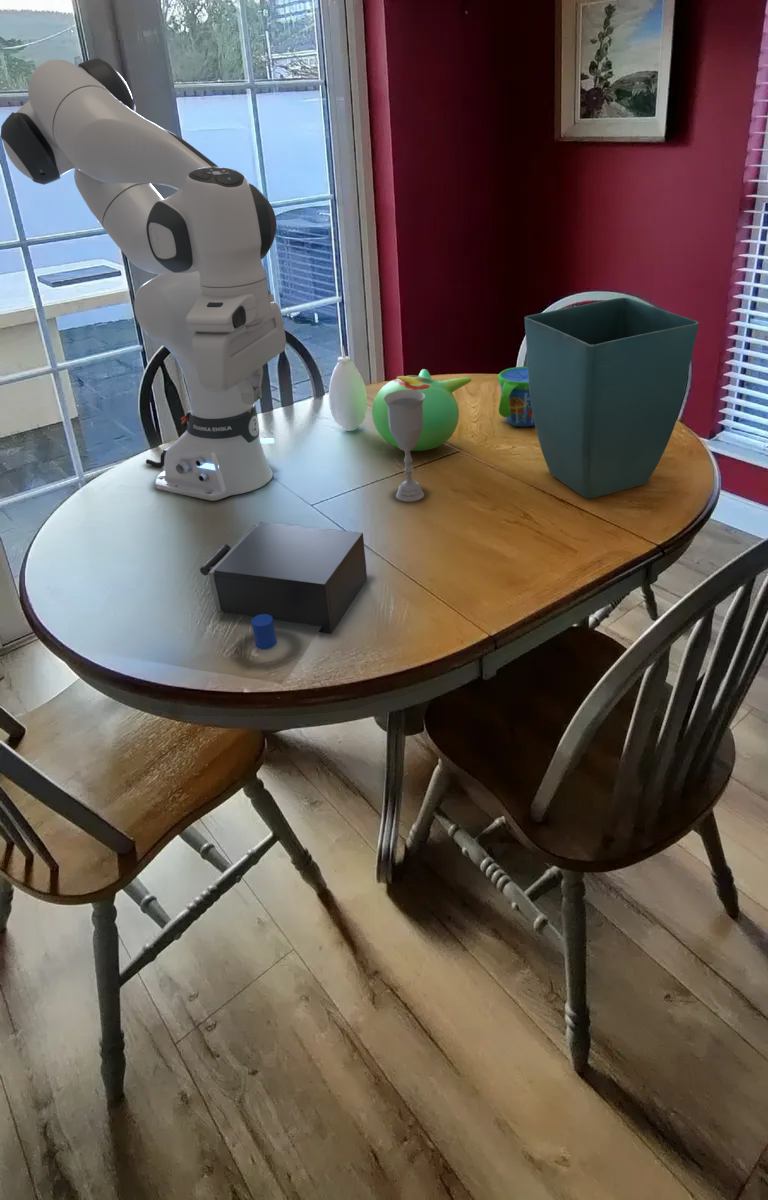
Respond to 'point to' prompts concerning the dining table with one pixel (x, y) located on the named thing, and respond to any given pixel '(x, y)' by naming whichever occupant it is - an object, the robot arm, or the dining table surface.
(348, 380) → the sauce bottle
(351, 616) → the dining table surface
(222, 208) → the robot arm
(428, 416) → the toy bird
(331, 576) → the dark grey drawer cabinet
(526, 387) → the snack cup
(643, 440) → the flower pot
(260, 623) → the lid
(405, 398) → the chalice
